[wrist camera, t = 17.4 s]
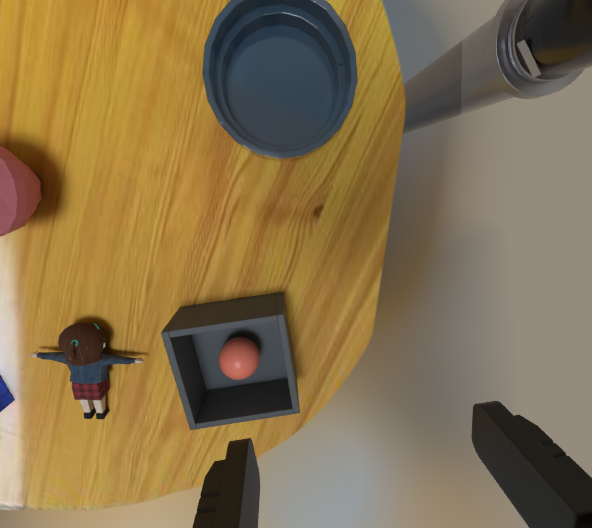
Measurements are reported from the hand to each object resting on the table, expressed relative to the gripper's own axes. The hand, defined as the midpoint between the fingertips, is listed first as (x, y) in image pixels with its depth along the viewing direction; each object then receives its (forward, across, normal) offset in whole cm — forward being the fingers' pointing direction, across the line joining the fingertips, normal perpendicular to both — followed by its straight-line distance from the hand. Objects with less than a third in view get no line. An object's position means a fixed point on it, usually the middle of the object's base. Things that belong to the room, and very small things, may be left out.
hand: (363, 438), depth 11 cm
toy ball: (+25, +10, +12) cm, 29 cm away
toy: (+28, +30, +12) cm, 43 cm away
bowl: (+28, 0, -18) cm, 33 cm away
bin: (+28, +10, +12) cm, 32 cm away
